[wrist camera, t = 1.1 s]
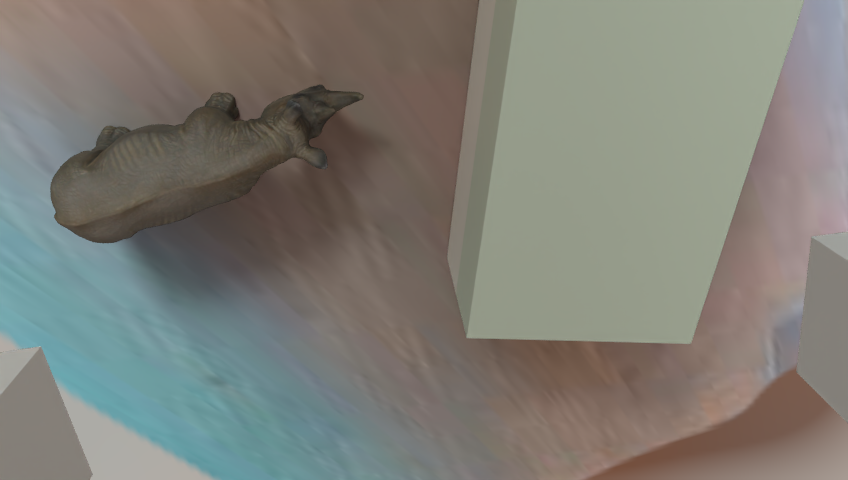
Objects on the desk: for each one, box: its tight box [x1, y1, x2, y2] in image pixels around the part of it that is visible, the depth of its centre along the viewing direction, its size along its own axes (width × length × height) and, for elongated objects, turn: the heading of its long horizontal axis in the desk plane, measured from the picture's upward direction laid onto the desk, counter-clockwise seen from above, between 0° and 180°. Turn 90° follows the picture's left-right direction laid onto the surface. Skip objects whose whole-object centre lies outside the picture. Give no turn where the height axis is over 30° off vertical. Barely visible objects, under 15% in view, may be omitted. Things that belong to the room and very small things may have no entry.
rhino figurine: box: [51, 85, 364, 243], centre depth 29 cm, size 4×14×6 cm, turn 108°
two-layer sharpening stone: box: [447, 0, 804, 344], centre depth 29 cm, size 18×10×7 cm, turn 175°
